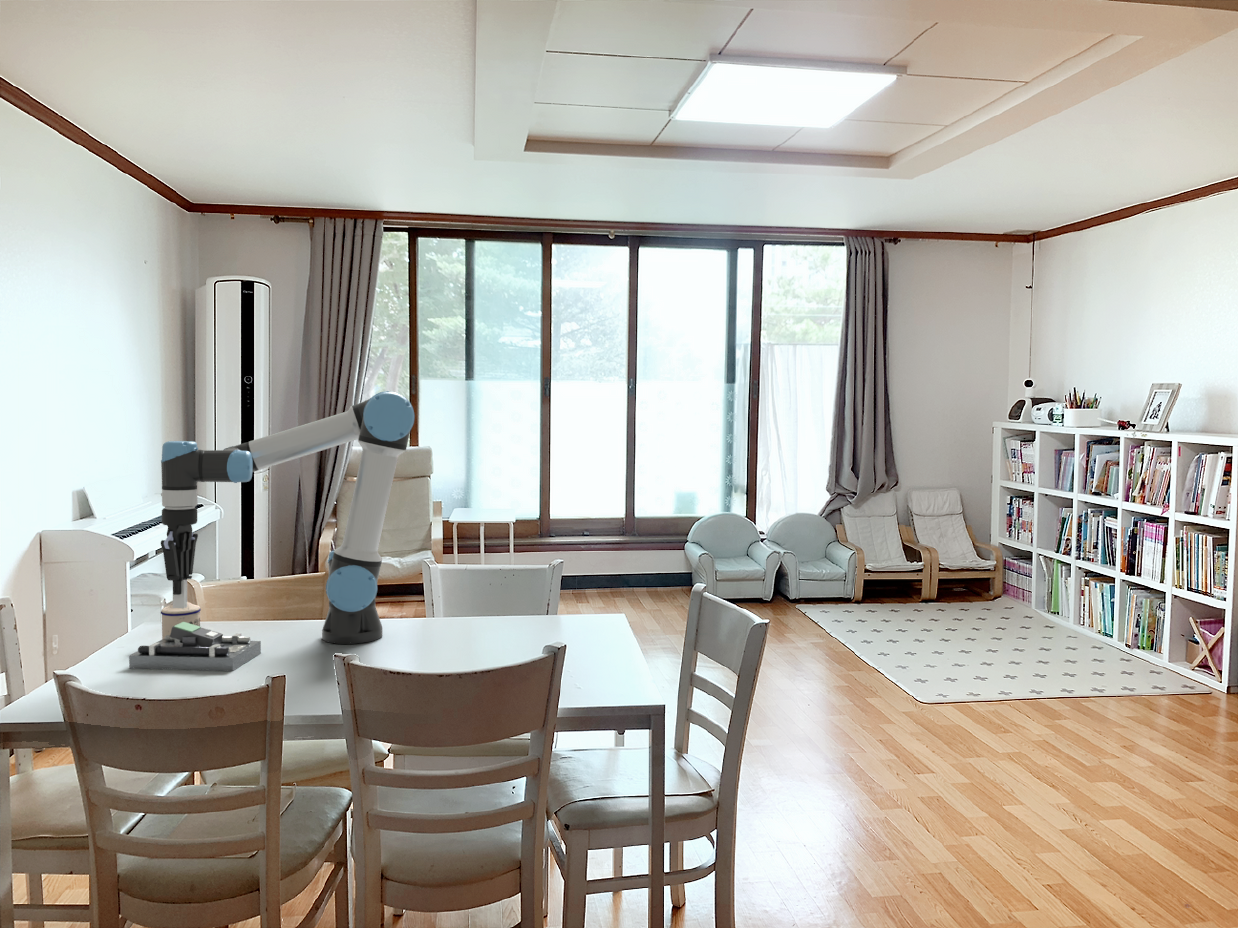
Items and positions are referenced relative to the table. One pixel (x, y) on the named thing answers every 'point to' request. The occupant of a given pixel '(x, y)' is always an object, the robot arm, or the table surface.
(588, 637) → the table surface
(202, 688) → the table surface
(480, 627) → the table surface
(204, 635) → the rocker
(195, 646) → the panel
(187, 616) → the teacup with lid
